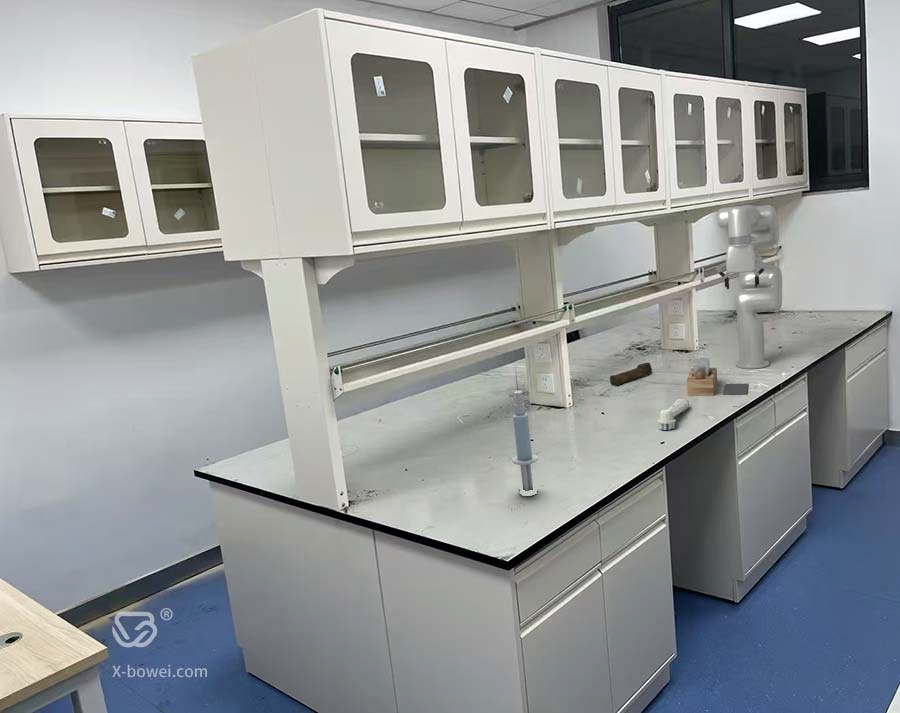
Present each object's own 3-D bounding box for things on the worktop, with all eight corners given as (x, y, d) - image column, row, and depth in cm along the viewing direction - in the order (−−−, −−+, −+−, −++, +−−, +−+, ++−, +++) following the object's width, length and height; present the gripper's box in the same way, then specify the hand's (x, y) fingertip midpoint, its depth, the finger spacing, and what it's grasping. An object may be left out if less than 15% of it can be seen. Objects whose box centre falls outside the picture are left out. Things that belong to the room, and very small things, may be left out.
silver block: (696, 379, 269) (695, 358, 267) (710, 378, 267) (709, 358, 265) (694, 383, 263) (693, 362, 261) (708, 383, 261) (707, 362, 259)
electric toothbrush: (691, 397, 244) (672, 409, 222) (691, 417, 244) (672, 430, 223) (675, 397, 246) (655, 408, 225) (675, 416, 247) (655, 429, 225)
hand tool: (618, 387, 283) (617, 374, 282) (609, 385, 288) (608, 372, 286) (657, 375, 295) (657, 362, 294) (649, 373, 299) (648, 361, 298)
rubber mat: (725, 384, 268) (725, 383, 267) (748, 384, 264) (748, 383, 264) (722, 394, 255) (722, 393, 255) (746, 394, 252) (746, 393, 252)
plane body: (692, 383, 275) (691, 358, 273) (717, 382, 271) (716, 357, 270) (687, 395, 259) (686, 369, 257) (713, 395, 256) (712, 368, 254)
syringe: (521, 499, 186) (508, 364, 179) (517, 490, 192) (505, 359, 186) (542, 496, 186) (531, 361, 179) (538, 487, 192) (526, 356, 186)
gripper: (765, 238, 259) (767, 285, 262) (715, 243, 266) (717, 288, 269) (766, 239, 252) (767, 287, 255) (714, 244, 259) (716, 290, 262)
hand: (742, 288), depth 262 cm, fingers open, 9 cm apart
